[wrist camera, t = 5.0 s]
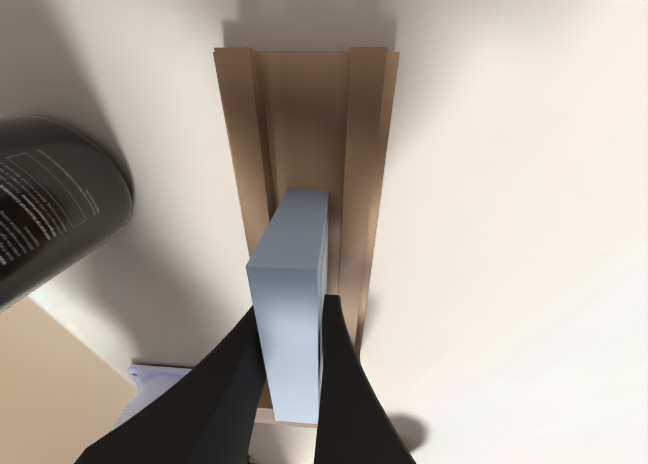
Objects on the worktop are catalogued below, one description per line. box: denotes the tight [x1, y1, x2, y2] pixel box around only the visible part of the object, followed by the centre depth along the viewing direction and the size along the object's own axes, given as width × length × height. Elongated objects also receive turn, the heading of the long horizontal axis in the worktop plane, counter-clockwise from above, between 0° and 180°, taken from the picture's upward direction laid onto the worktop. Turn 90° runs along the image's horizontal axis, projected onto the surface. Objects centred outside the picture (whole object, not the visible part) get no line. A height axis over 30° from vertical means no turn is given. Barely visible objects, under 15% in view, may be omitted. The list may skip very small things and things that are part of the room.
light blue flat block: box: [246, 189, 329, 424], centre depth 12 cm, size 9×2×6 cm, turn 0°
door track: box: [213, 48, 399, 428], centre depth 13 cm, size 20×7×5 cm, turn 0°
